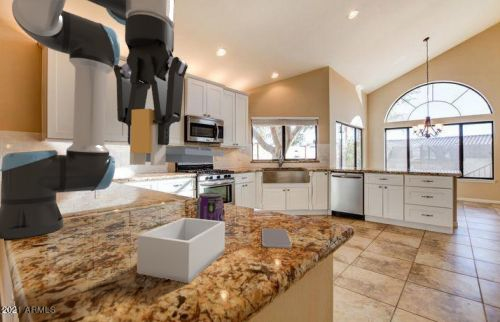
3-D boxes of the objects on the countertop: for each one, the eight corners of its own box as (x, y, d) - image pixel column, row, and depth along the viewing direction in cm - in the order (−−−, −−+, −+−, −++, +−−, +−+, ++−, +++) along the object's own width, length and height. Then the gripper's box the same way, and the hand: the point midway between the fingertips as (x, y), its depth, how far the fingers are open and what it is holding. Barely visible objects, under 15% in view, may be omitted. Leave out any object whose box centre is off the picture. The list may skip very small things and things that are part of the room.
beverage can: (217, 242, 60) (218, 196, 60) (191, 240, 61) (192, 195, 61) (225, 234, 67) (226, 192, 67) (202, 232, 68) (203, 191, 68)
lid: (111, 161, 39) (112, 110, 39) (180, 161, 58) (181, 127, 58) (169, 163, 35) (170, 107, 35) (223, 162, 54) (223, 126, 54)
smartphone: (286, 228, 72) (292, 245, 57) (285, 231, 72) (292, 249, 57) (262, 228, 72) (262, 244, 57) (262, 231, 72) (262, 248, 57)
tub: (137, 273, 43) (137, 235, 43) (183, 245, 57) (184, 217, 57) (188, 283, 40) (189, 242, 40) (224, 251, 54) (225, 221, 54)
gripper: (92, 20, 38) (89, 163, 38) (179, 1, 33) (176, 166, 33) (129, 43, 45) (126, 163, 45) (205, 30, 40) (202, 165, 40)
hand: (147, 164), depth 39 cm, fingers closed on lid, 3 cm apart
